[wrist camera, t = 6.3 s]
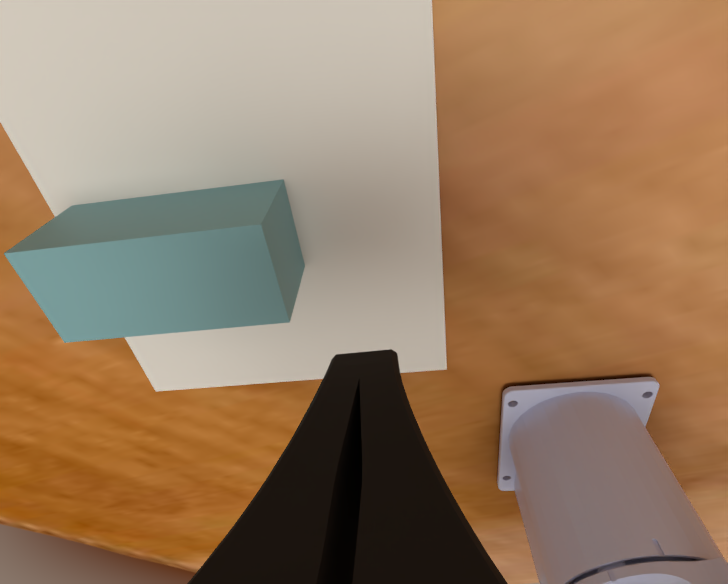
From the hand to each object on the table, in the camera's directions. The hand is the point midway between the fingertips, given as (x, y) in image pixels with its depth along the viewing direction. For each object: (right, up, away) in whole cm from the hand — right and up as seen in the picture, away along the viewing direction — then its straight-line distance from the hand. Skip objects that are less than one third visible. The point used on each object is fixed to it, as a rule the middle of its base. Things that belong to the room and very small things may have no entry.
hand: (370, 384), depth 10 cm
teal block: (-3, +4, +7) cm, 8 cm away
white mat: (-5, +5, +9) cm, 12 cm away
